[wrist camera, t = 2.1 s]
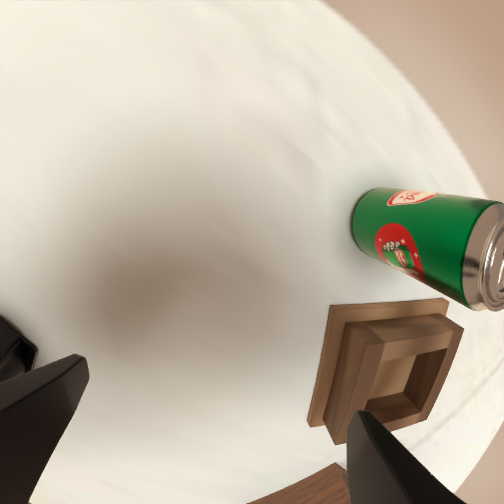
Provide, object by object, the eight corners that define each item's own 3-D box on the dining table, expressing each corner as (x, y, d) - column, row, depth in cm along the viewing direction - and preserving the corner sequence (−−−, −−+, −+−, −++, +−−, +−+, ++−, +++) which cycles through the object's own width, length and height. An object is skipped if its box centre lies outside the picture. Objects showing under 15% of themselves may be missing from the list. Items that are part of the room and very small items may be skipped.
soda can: (408, 194, 20) (539, 215, 9) (398, 257, 21) (516, 316, 10) (354, 181, 19) (491, 192, 8) (343, 252, 20) (463, 324, 9)
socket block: (306, 420, 24) (321, 454, 20) (330, 305, 21) (356, 333, 17) (409, 399, 26) (430, 423, 21) (442, 298, 23) (474, 316, 19)
